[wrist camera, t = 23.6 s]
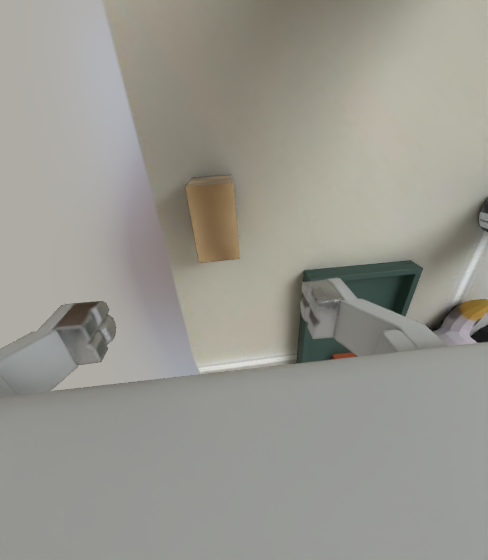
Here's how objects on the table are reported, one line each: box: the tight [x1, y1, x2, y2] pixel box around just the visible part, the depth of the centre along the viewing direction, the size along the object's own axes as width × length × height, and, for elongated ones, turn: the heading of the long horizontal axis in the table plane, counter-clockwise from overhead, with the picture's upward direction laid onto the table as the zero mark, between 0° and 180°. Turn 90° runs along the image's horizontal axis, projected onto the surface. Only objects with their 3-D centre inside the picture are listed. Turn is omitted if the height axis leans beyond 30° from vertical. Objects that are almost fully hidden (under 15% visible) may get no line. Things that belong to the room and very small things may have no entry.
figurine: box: [432, 299, 488, 346], centre depth 35 cm, size 12×17×15 cm
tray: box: [297, 260, 423, 363], centre depth 36 cm, size 22×15×2 cm
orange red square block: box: [332, 352, 356, 359], centre depth 39 cm, size 4×4×2 cm
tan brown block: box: [185, 174, 240, 263], centre depth 24 cm, size 4×7×6 cm, turn 4°
